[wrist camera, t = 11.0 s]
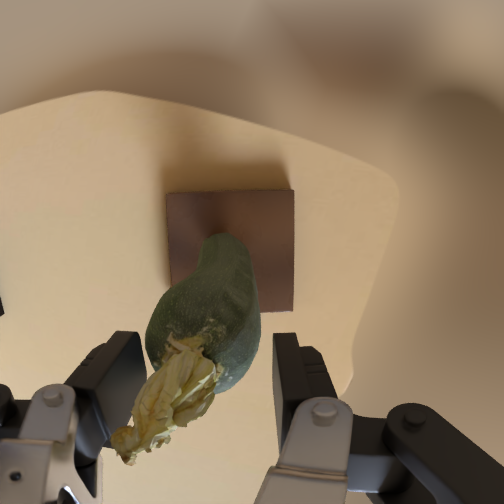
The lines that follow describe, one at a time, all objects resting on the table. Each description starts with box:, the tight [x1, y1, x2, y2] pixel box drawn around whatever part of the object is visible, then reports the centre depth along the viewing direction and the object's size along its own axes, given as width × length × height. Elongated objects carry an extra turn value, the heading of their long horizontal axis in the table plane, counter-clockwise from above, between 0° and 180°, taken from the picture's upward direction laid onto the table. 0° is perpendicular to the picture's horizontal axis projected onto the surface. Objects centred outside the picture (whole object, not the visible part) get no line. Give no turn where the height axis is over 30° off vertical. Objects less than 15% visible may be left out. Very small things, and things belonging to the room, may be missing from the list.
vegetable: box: [110, 233, 261, 466], centre depth 15 cm, size 4×4×20 cm
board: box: [166, 189, 294, 313], centre depth 26 cm, size 10×10×2 cm
